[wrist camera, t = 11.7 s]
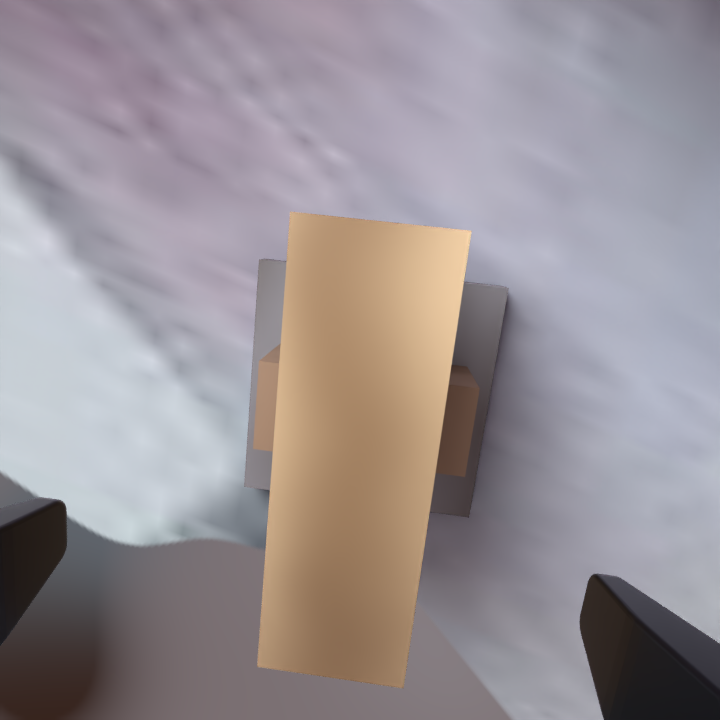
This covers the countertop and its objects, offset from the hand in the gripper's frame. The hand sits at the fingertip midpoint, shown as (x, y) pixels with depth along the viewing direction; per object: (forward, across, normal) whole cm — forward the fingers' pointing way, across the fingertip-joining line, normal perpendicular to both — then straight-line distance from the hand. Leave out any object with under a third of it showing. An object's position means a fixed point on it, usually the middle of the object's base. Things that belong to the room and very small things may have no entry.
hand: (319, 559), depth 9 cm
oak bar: (+8, 0, 0) cm, 8 cm away
